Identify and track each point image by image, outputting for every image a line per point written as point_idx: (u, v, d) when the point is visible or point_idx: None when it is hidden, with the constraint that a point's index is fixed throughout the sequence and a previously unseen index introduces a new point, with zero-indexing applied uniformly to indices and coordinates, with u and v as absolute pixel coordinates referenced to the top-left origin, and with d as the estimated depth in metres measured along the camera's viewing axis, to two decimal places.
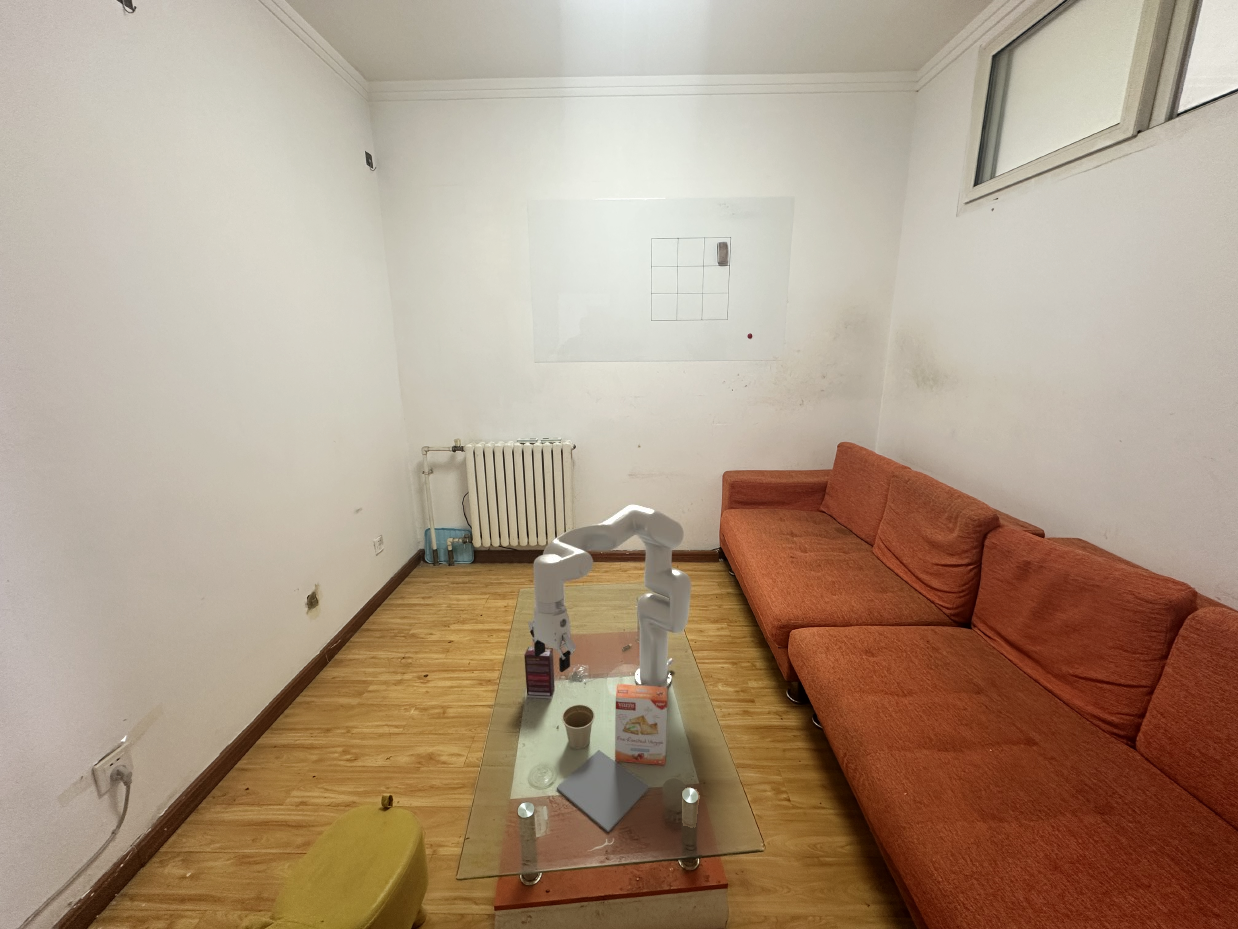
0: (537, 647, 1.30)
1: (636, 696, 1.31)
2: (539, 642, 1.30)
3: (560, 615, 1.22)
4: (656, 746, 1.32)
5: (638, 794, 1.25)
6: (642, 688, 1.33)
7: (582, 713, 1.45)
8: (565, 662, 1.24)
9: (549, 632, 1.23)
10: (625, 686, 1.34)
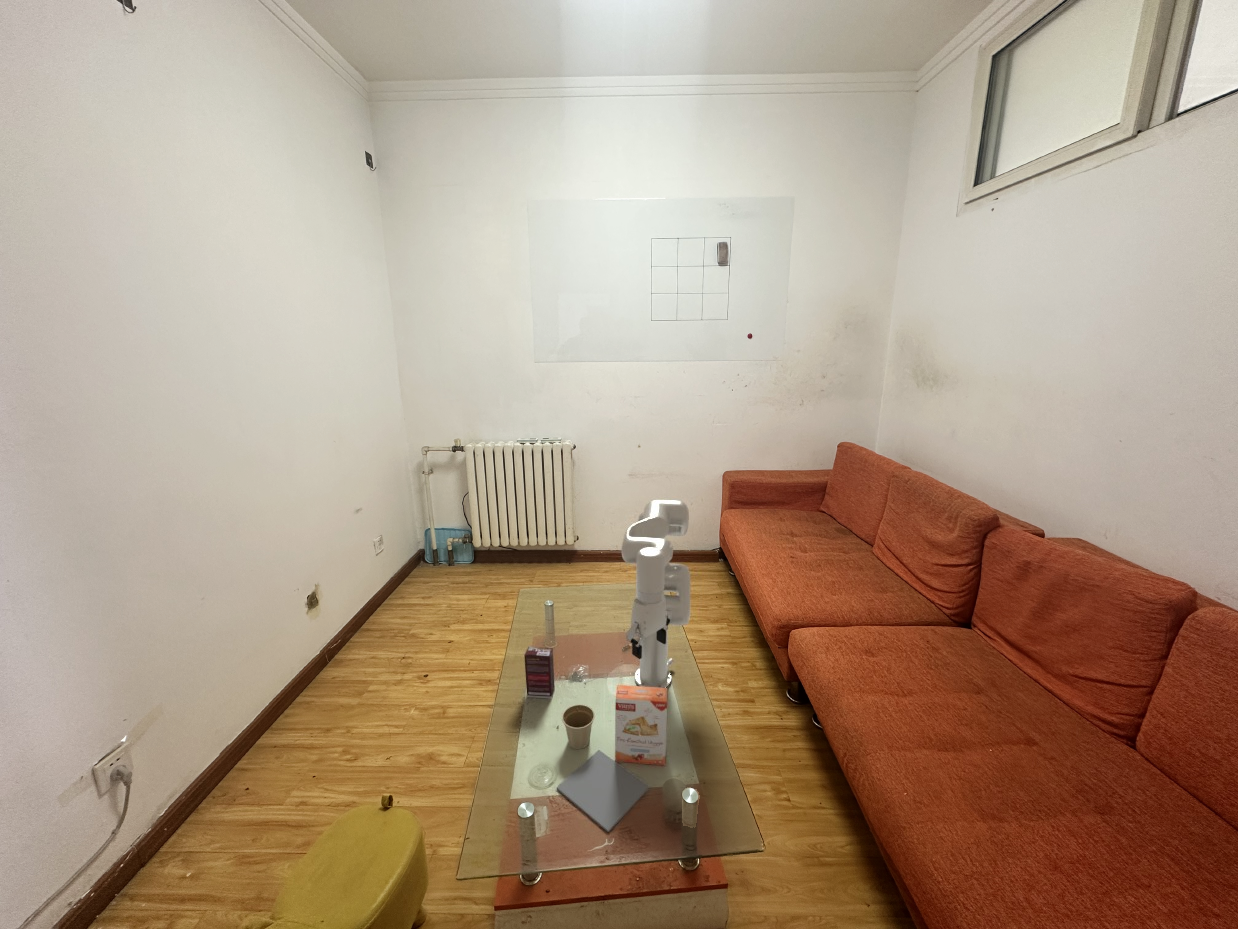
0: None
1: (636, 697, 1.30)
2: None
3: None
4: (656, 747, 1.32)
5: (638, 794, 1.25)
6: (642, 689, 1.33)
7: (582, 713, 1.45)
8: None
9: (661, 615, 1.33)
10: (625, 687, 1.34)
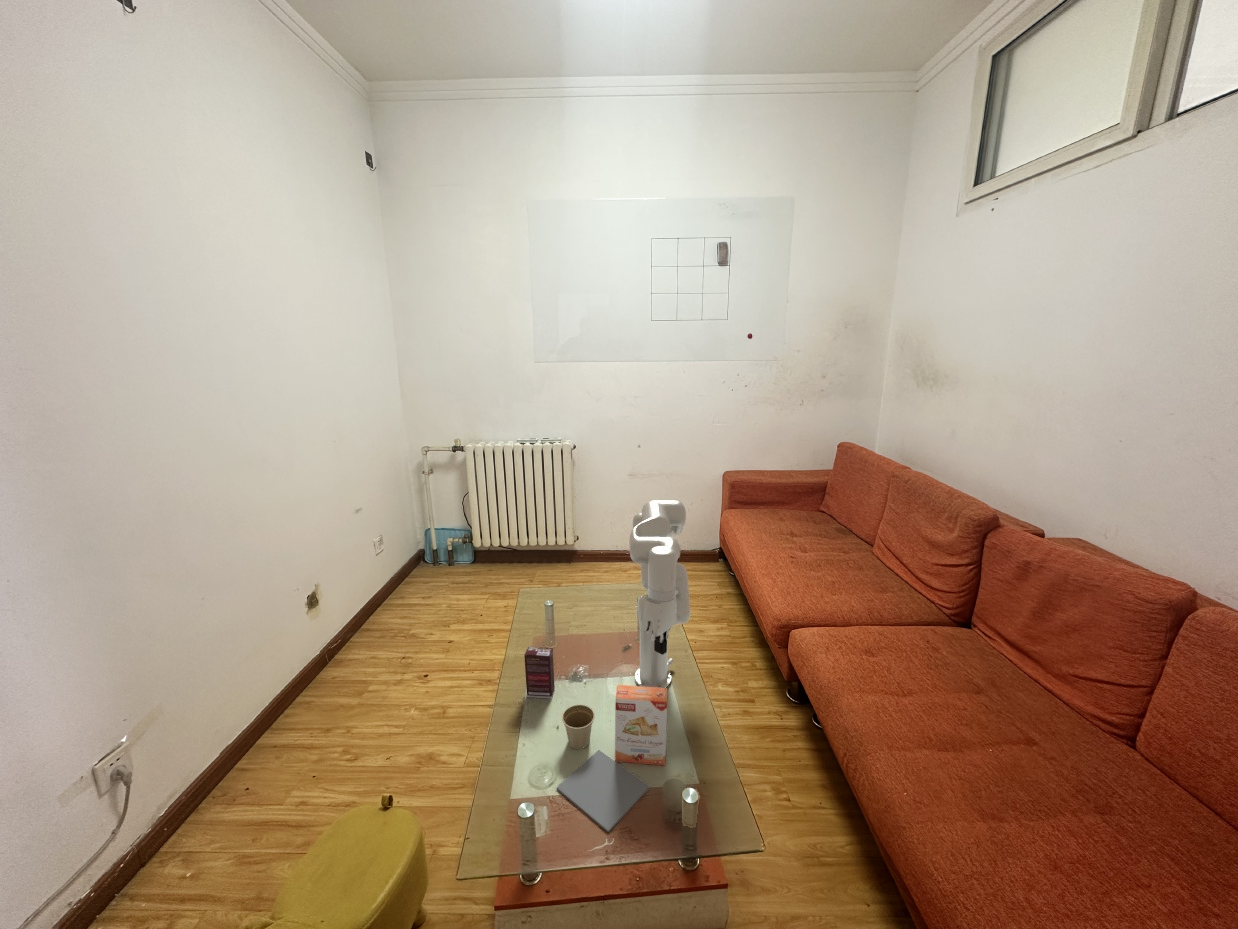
0: None
1: (636, 697, 1.30)
2: None
3: None
4: (656, 747, 1.32)
5: (638, 794, 1.25)
6: (642, 689, 1.33)
7: (582, 713, 1.45)
8: None
9: (672, 613, 1.34)
10: (625, 687, 1.34)
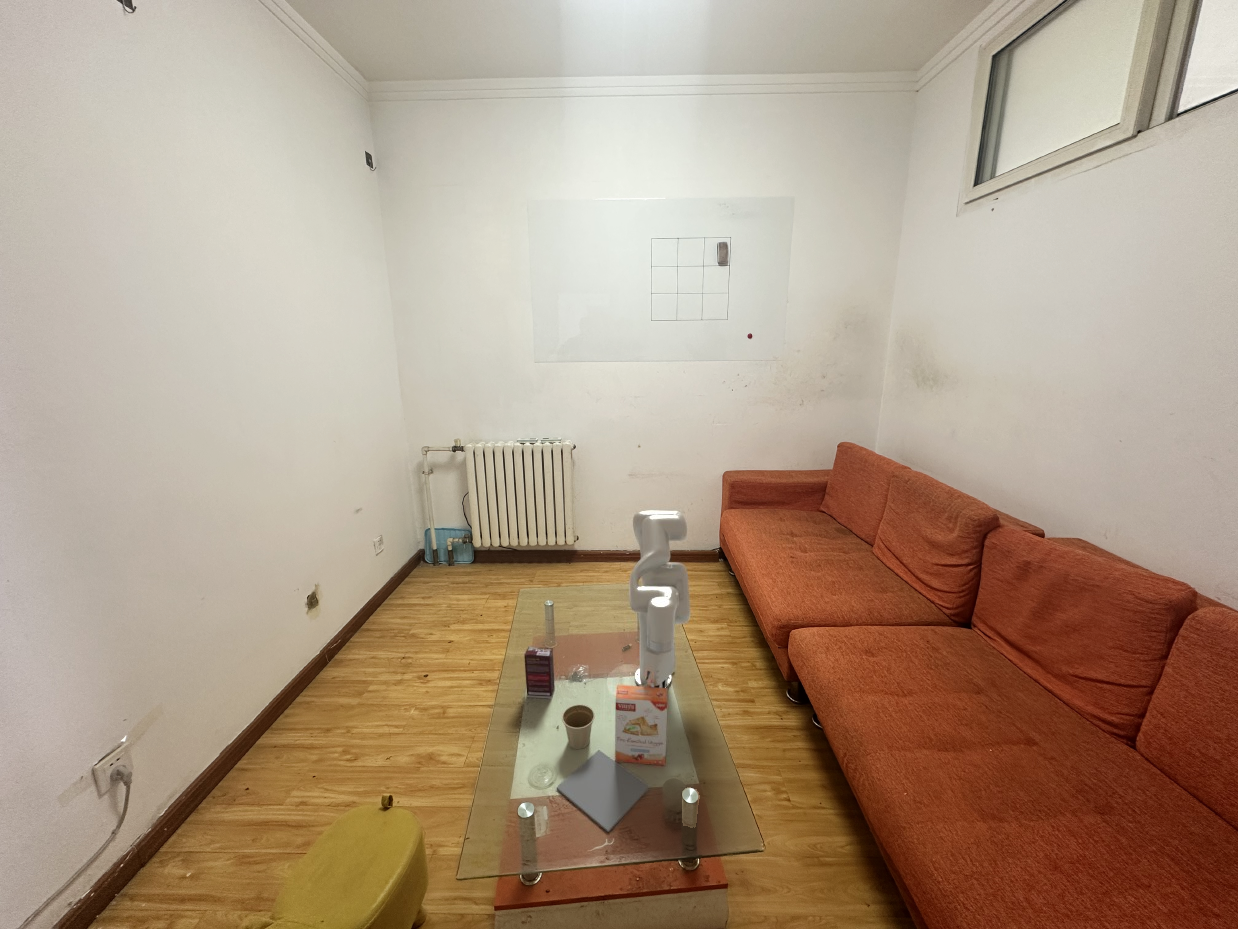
0: None
1: (636, 697, 1.30)
2: None
3: None
4: (656, 747, 1.32)
5: (638, 794, 1.25)
6: (642, 689, 1.33)
7: (582, 713, 1.45)
8: None
9: (671, 662, 1.37)
10: (625, 687, 1.34)
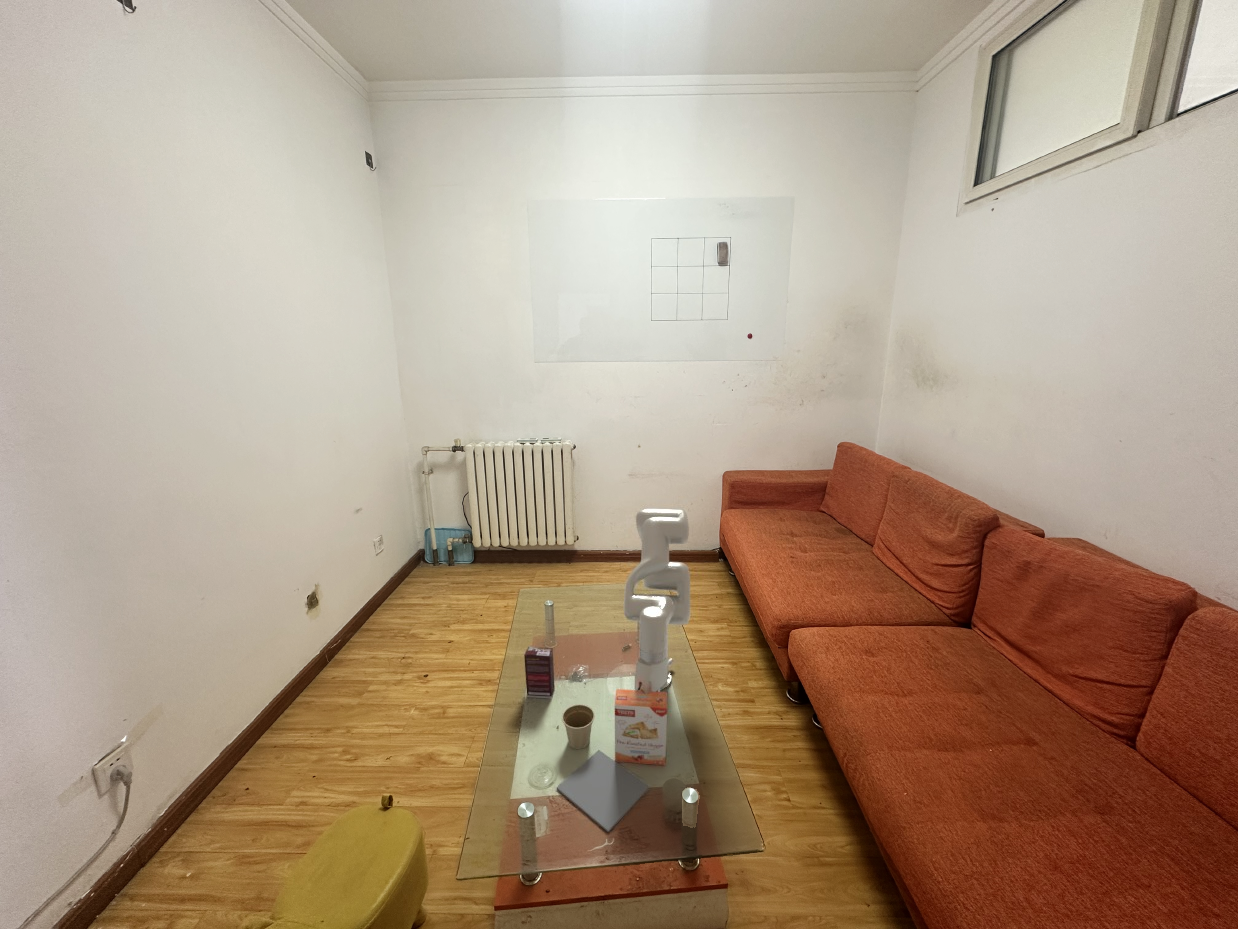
0: None
1: (635, 703, 1.28)
2: None
3: None
4: (656, 749, 1.32)
5: (638, 794, 1.25)
6: (641, 694, 1.31)
7: (582, 713, 1.45)
8: None
9: (664, 672, 1.35)
10: (624, 691, 1.32)
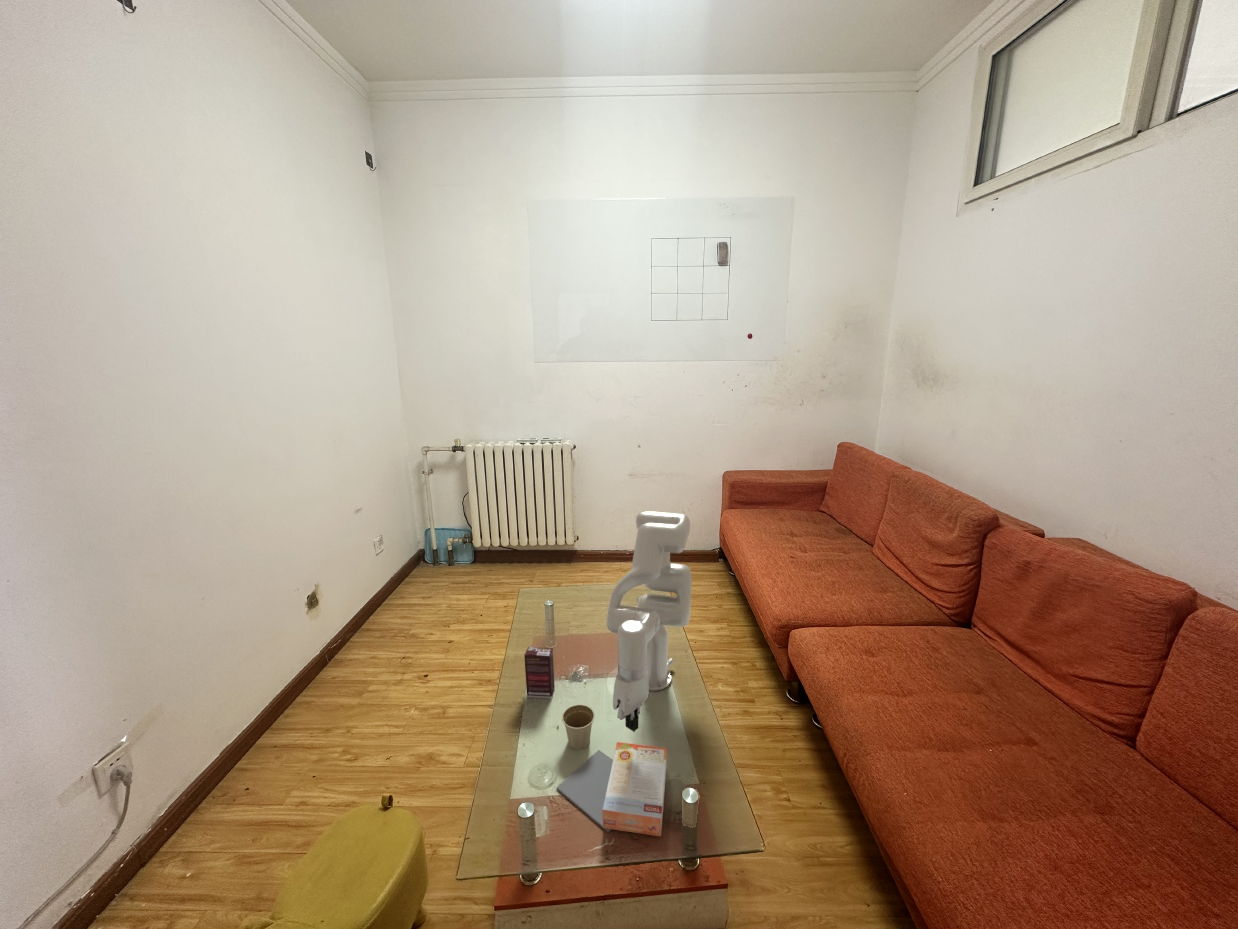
0: None
1: (625, 829, 1.14)
2: None
3: None
4: None
5: None
6: (631, 819, 1.13)
7: (582, 713, 1.45)
8: None
9: (644, 689, 1.29)
10: (611, 814, 1.14)
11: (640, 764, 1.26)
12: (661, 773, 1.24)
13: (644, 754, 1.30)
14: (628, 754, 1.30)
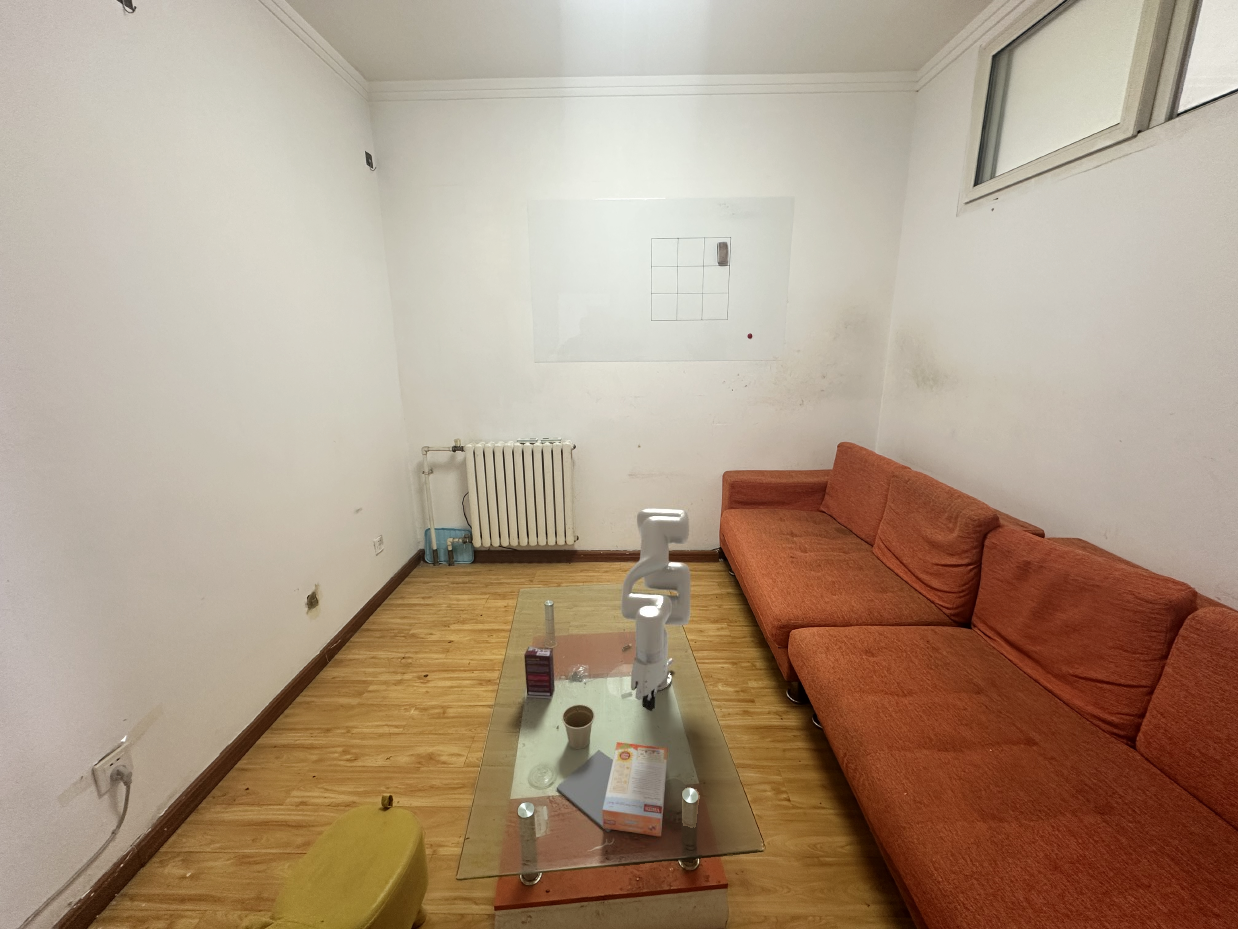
0: None
1: (625, 829, 1.14)
2: None
3: None
4: None
5: None
6: (631, 819, 1.13)
7: (582, 713, 1.45)
8: None
9: (660, 671, 1.34)
10: (611, 814, 1.14)
11: (640, 764, 1.26)
12: (661, 773, 1.24)
13: (644, 754, 1.30)
14: (628, 754, 1.30)
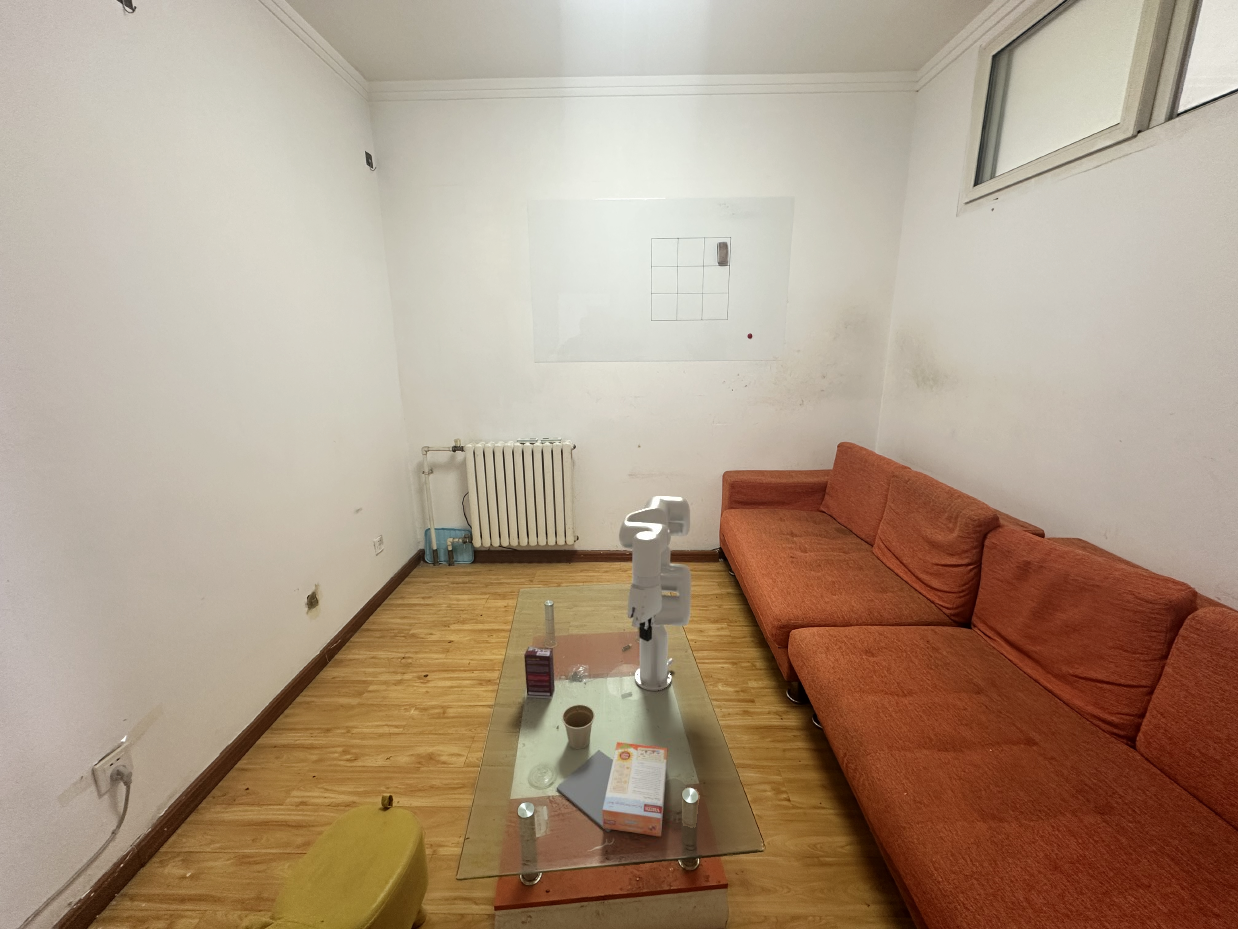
0: None
1: (625, 829, 1.14)
2: None
3: None
4: None
5: None
6: (631, 819, 1.13)
7: (582, 713, 1.45)
8: None
9: (657, 599, 1.33)
10: (611, 814, 1.14)
11: (640, 764, 1.26)
12: (661, 773, 1.24)
13: (644, 754, 1.30)
14: (628, 754, 1.30)
